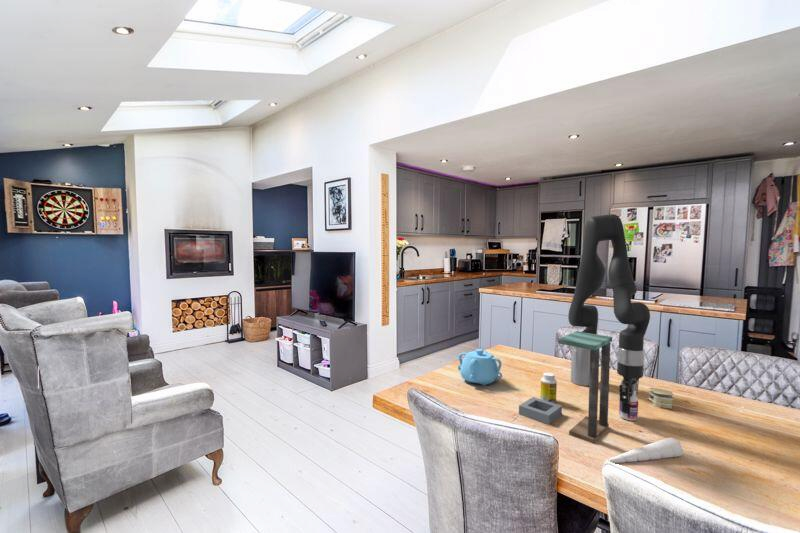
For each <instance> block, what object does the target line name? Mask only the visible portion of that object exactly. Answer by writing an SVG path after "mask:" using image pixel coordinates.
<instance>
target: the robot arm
mask: <svg viewBox="0 0 800 533" xmlns="http://www.w3.org/2000/svg"><path fill="white" fill-rule="evenodd" d="M624 228H625V227H624V225H623V222H622V219H621V218H620V216H618V215H617V214H613V213H611V214H601V215H596V216H591V217H589V218H588V219H587V220H586V223H585V226H584V231H583V241H582V242H583V244H582V252H581V257H580V261H579V262H580V263H579V267H578V271H577V277H576V283H575V289H574V293H573V296H572V300H571V303H570V305H569V310H568V322H569V324H570V326H573V327H578V328H580V327H581V328H585V329H584V330H581V332H585V333H591V334H597V333H598V323H599V311H598V310H599V309H598V308H597V306H595V305H593V304H592V305H591V304H585V302H586V301H587V300H589V298H590V297H591V296H593V295H594V294H595V293H596V292H598V291H599V290H600V288H601V287H602V285H603V283H604V278H605V274H606V267H605V265H604V263H603V261H602V259H601V258H600V256H599V253H598V245H599V243H600V242H606V241H611V245H612V247H613V248H612V250H613V251H612V257H611V258H610V262H609V267H608V269H607V270H608V272H607V274H608V279H609V282H610V286H611V289H612V292H613V313H614V316H615V318H616V320H617V321H618V322H620V324H623V325H627V327H626V328H624V329H623V330H621V331H620V332H619V335H618V336H619V337H618V349H617V362H616V363H617V364H616V373H617V374H618V375H619V376H620V377H623V379H622V380H621V382H620V384H619V385H618V388H619V402H620V401H621V402H622V412H623V413H626V414H629V413H630V403H631V397H633V394H634V389H635V390H636V395H635V396H637V395H638V394H639V381H640V379H642V378H643V377H644V367H645V366H644V364H645V363H644V362H645V358H644V357H645V355H644V342H645V341H644V337H645V335H646V333H647V330H648V326H649V323H650V320H651V313H650V309H649V307H648V306H647V305H646V304H645V303H644V302H639V301H637V302H632V300H631V299H632V296H633V295H635V294H636V293H637V292H638V290H637V289H638V288H637V286H636V285H637V284H636V282H635V278H634V276H633V272H632V270H631V266H630V261H629V256H628V247H627V242H626V236H625V235H626V234H625V229H624ZM597 335H598V334H597ZM570 361H571V362H570V364H571V366H570V381H571V383H573V384H575V385H579V386H584V387H589V378H590V349H585V348H579V347H574V346H571V360H570ZM629 392H631V393H629ZM624 396H625V397H626V399H625V398H624ZM637 397H638V396H637Z"/></svg>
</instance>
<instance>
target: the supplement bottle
mask: <svg viewBox="0 0 800 533" xmlns="http://www.w3.org/2000/svg"><path fill="white" fill-rule="evenodd" d="M555 378H556V376H555V373H552V372H544V373H543V375H542V377H541V378H540V397H539V399H541V400H545V401H548V402H551V403H554V404H555V403H556V402H557V388H558V387H557V386H558V383H557V382H558V381H557V379H555Z"/></svg>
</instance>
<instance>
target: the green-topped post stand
mask: <svg viewBox="0 0 800 533" xmlns="http://www.w3.org/2000/svg"><path fill="white" fill-rule="evenodd" d="M612 342H613V337H612V336H608V335H601V334H591V333H585V332H582V331H577V330H576V331H574V332H571V333H569V334H567V335H565V336H561V337H559V338H557V344H559V345H565V346H570V347H572V346H574V347H579V348H585V349H590V378H589V386H588V409H587V410H588V414H587V415H588V416H585V417H583V418H582V419H581V420H579V422H578V423H576V424H575V425H574V426H573V427H571V429H569V431H568V435H569V436H572V437H575V438H578V439H581V440H583V441H586V442H589V443H592V444H594V443H595V442H596V441H598V439H599V438H600V437H601V436H602V435H603V434H604V433H605V431H606V430H607V429H608V428H609V426H610V424H609V422H608V421H609V397H610V396H609V393H610V391H609V390H610V368H611V367H610V364H611V343H612ZM600 349H601V353H600ZM600 354H601V358H600ZM599 374H600V375H599ZM599 376H600V377H599ZM599 378H600V383H599ZM599 387H600V388H599ZM598 401H599V402H598ZM598 404H599V405H598ZM598 408H599V410H598ZM598 412H599V414H598ZM598 415H599V418H598Z"/></svg>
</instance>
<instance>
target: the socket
mask: <svg viewBox="0 0 800 533" xmlns="http://www.w3.org/2000/svg"><path fill="white" fill-rule="evenodd" d="M562 413H563V405H560V404H557V403H555V402H554V403H551V402H548V401H545V400H541V398H538V397H534V396H532V397H531V398H529V399H527V400H526V401H524V402H523V403H521V404H519V405H518V415H520V416H523V417H526V418H529V419H532V420H535V421H538V422H540V423H543V424H546V425H550V424H551V423H552V422H554V421H555V420H557V419H558V418H559V417H561V416H562V415H563V414H562Z"/></svg>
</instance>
